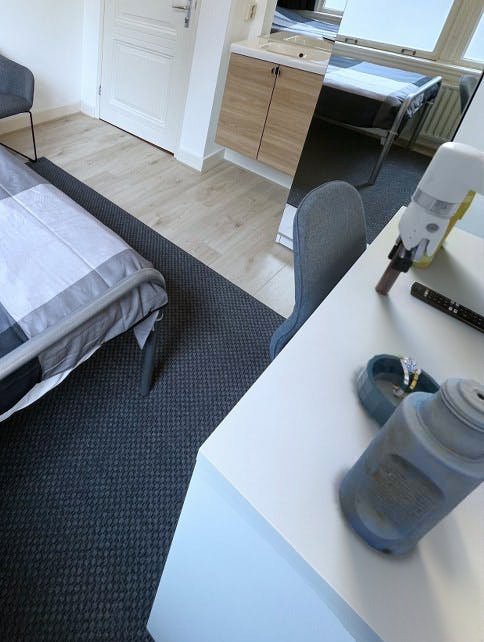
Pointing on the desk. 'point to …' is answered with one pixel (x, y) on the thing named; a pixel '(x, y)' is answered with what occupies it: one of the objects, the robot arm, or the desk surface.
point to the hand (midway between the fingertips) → (396, 264)
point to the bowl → (393, 372)
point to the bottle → (417, 467)
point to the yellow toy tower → (448, 228)
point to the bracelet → (407, 376)
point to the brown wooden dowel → (389, 275)
